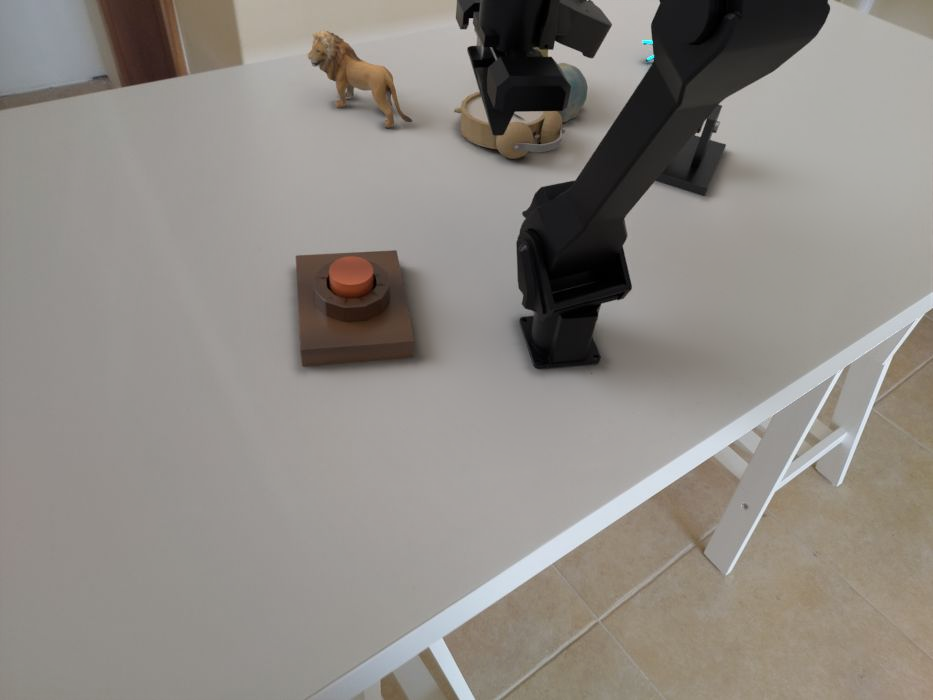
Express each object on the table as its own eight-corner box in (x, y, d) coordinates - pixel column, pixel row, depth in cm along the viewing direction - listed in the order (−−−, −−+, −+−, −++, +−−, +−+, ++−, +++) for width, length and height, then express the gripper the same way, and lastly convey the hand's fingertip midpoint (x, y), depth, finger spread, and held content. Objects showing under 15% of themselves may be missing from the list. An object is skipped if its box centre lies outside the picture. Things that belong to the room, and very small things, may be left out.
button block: (413, 357, 67) (415, 326, 64) (302, 366, 65) (298, 335, 62) (396, 266, 76) (396, 235, 73) (297, 272, 74) (294, 240, 71)
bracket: (704, 196, 90) (725, 139, 85) (634, 174, 92) (650, 117, 87) (723, 152, 98) (744, 97, 92) (658, 132, 100) (674, 78, 95)
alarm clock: (506, 82, 100) (587, 110, 91) (506, 117, 103) (584, 148, 94) (441, 102, 95) (520, 134, 86) (443, 139, 98) (520, 174, 89)
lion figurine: (304, 103, 98) (299, 35, 91) (326, 87, 101) (322, 20, 95) (402, 134, 94) (404, 66, 88) (421, 116, 98) (424, 49, 91)
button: (375, 297, 67) (375, 283, 66) (331, 300, 66) (330, 285, 65) (371, 269, 70) (371, 255, 69) (328, 271, 69) (327, 257, 68)
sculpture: (595, 111, 103) (611, 40, 96) (557, 130, 98) (571, 57, 91) (516, 72, 109) (525, 2, 102) (477, 88, 105) (484, 17, 97)
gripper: (652, 7, 55) (606, 185, 66) (580, -75, 68) (551, 86, 79) (508, 5, 53) (486, 190, 64) (461, -79, 65) (449, 87, 77)
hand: (497, 133), depth 71 cm, fingers closed
